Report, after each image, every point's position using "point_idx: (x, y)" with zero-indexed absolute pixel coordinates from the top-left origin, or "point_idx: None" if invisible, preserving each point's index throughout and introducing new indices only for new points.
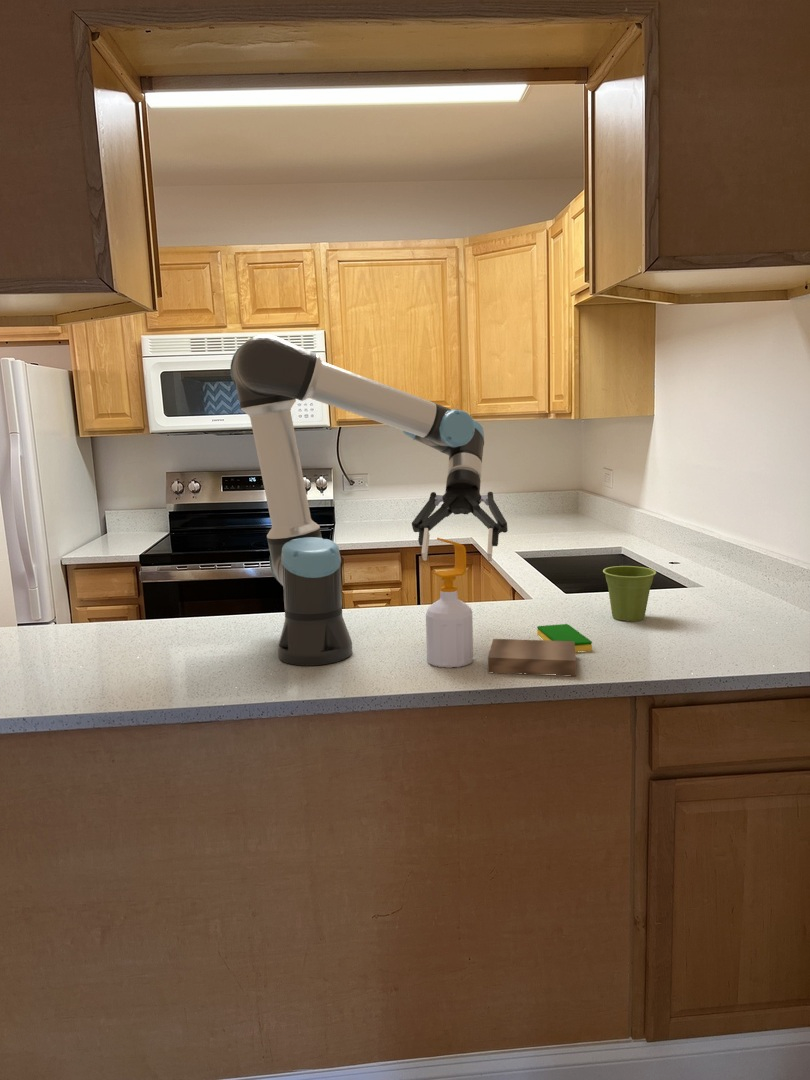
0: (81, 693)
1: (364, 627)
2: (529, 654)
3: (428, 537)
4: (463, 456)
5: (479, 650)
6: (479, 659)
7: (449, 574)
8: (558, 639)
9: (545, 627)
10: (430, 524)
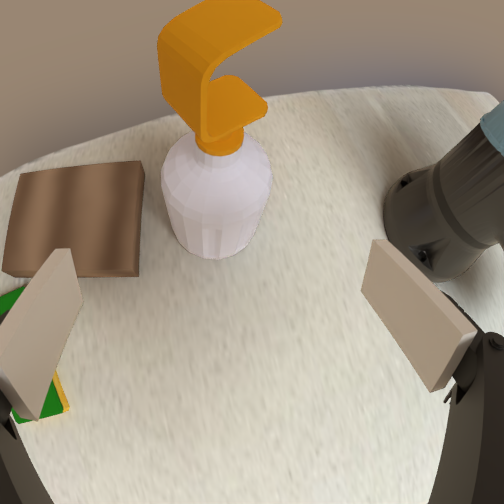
0: None
1: (421, 392)
2: (73, 186)
3: (424, 351)
4: None
5: (166, 291)
6: (161, 237)
7: (214, 85)
8: None
9: (46, 399)
10: (472, 393)
